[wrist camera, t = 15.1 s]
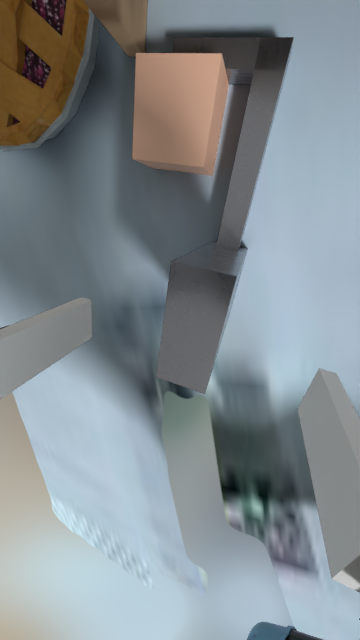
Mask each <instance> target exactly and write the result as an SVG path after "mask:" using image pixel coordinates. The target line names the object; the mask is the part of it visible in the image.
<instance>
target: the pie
mask: <svg viewBox="0 0 360 640" xmlns="http://www.w3.org/2000/svg"><path fill="white" fill-rule="evenodd" d="M100 24H101V22H100V21H99V19H98V18H97V17H96V16H95V14H94V13H93V12H92V11H91V9H90V8H89V7H88V6H87V4H86V3H85V2H84V1H83V0H0V149H2V150H4V151H11V150H21V149H31V148H38V147H39V146H40V145H41V144H42V143H43V142H44V141H45V140H47V139H51V138H54V137H56V136H57V135H58V134H59V133H60V132H61V130H62V129H63V128H64V127H65V126H66V125H67V124H68V123H69V121H70V120H71V119H72V118H73V117H74V116H75V115H76V114H77V111H78V108H79V106H80V103H81V101H82V98H83V96H84V93H85V91H86V88H87V86H88V83H89V81H90V78H91V76H92V73H93V71H94V68H95V63H96V55H97V47H98V39H99V32H100Z"/></svg>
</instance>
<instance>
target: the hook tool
mask: <svg viewBox="0 0 360 640" xmlns="http://www.w3.org/2000/svg"><path fill="white" fill-rule="evenodd" d="M293 38H294V37H285V38H174V47H173V53H222V56H223V60H224V65H225V69H226V74H227V78H228V83H229V84H238V85H251V87H250V91H249V96H248V101H247V105H246V110H245V115H244V119H243V124H242V129H241V133H240V138H239V143H238V147H237V152H236V156H235V161H234V166H233V170H232V175H231V180H230V184H229V189H228V194H227V198H226V203H225V208H224V212H223V217H222V221H221V226H220V231H219V235H218V240H217V242H210V243H208V244H206V245H204V246H202V247H200V248H198V249H196V250H194V251H192V252H190V253H188V254H186V255H184V256H182V257H180V258H178V259H175V260H173V261H171V267H170V274H169V282H168V290H167V297H166V305H165V313H164V320H163V328H162V336H161V343H160V351H159V359H158V367H157V374H156V377H158V378H161V379H163V380H166V381H169V382H172V383H175V384H178V385H180V386H183V387H186V388H189V389H192V390H195V391H198V392H200V393H203V394H205V392H206V389H207V386H208V382H209V379H210V376H211V373H212V369H213V366H214V363H215V360H216V356H217V353H218V350H219V347H220V344H221V340H222V337H223V334H224V331H225V327H226V324H227V321H228V317H229V314H230V310H231V307H232V303H233V299H234V296H235V292H236V289H237V285H238V281H239V278H240V274H241V271H242V267H243V264H244V260H245V256H246V253H247V248H242V247H240V245H241V241H242V237H243V233H244V230H245V226H246V222H247V218H248V214H249V211H250V207H251V203H252V199H253V195H254V192H255V188H256V184H257V180H258V176H259V173H260V169H261V165H262V161H263V157H264V154H265V150H266V146H267V142H268V138H269V134H270V131H271V127H272V123H273V119H274V115H275V112H276V108H277V104H278V100H279V96H280V93H281V89H282V85H283V81H284V77H285V74H286V70H287V66H288V62H289V58H290V53H291V48H292V43H293Z"/></svg>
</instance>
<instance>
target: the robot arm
mask: <svg viewBox="0 0 360 640" xmlns="http://www.w3.org/2000/svg"><path fill="white" fill-rule="evenodd" d="M91 338H92V303H91V300H89V299H86V298H83V297H80V298H77V299H75V300H72V301H70V302H67V303H65V304H62V305H60V306H57V307H55V308H52V309H50V310H47V311H45V312H42V313H40V314H37V315H35V316H32V317H30V318H27V319H25V320H22V321H20V322H17V323H15V324H12V325H9V326H5V327H2V328H0V399H2V398H3V397H5V396H6V395H7V394H9V393H11V392H12V391H14V390H15V389H17V388H18V387H20V386H21V385H23V384H24V383H26V382H27V381H29V380H30V379H32V378H33V377H35V376H36V375H38V374H39V373H41V372H42V371H44V370H45V369H46V368H48V367H49V366H51V365H52V364H54V363H55V362H57V361H58V360H60V359H61V358H63V357H64V356H66V355H67V354H69V353H70V352H72V351H73V350H75V349H76V348H78V347H79V346H81V345H82V344H84V343H85V342H87V341H88V340H90V339H91ZM297 409H298V414H299V419H300V424H301V429H302V434H303V439H304V444H305V449H306V454H307V459H308V464H309V469H310V474H311V479H312V484H313V489H314V494H315V499H316V504H317V509H318V514H319V519H320V524H321V529H322V534H323V538H324V543H325V548H326V553H327V558H328V563H329V568H330V573H331V578H332V579H333V580H335V581H337V582H339V583H341V584H343V585H345V586H347V587H349V588H351V589H354V590H356V591H358V592H360V419H359V417H358V415H357V413H356V411H355V409H354V407H353V405H352V403H351V401H350V399H349V397H348V395H347V393H346V391H345V389H344V387H343V385H342V383H341V382H340V380H339V378H338V376H337V374H336V373H333V372H330V371H327V370H323V369H320V368H319V370H318V371H317V373H316V375H315V377H314V379H313V381H312V383H311V384H310V386H309V388H308V390H307V392H306V394H305V396H304V397H303V399H302V401H301V403H300V405H299V407H298V408H297ZM359 620H360V619H359ZM247 640H323V639H320V638H317V637H313V636H310V635H307V634H304V633H301V632H298V631H297V630H296V629H295V627H293V626H288V627H283V626H280V625H276V624H272V623H268V622H260V623H257V624H256V625H255V626H254V627H253V628H252V630H251V631H250V633H249V636H248V638H247Z"/></svg>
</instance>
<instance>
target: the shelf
mask: <svg viewBox="0 0 360 640" xmlns="http://www.w3.org/2000/svg"><path fill="white" fill-rule="evenodd" d="M83 1H84V2H85V3H86V4H87V6H88V7H89V8H90V9H91V11H92V12H93V13H94V14H95V16H96V17H97V18H98V19H99V21H100V22H101V23H102V24H103V26H104V27H105V28H106V29H107V31H108V32H109V33H110V34H111V36H112V37H113V38H114V39H115V40H116V42H117V43H118V44H119V45H120V47H121V48H122V49H123V50H124V52H125V53H126V54H127V55H128V56H133V57H136V53H145V42H146V24H147V5H148V0H83Z"/></svg>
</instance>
